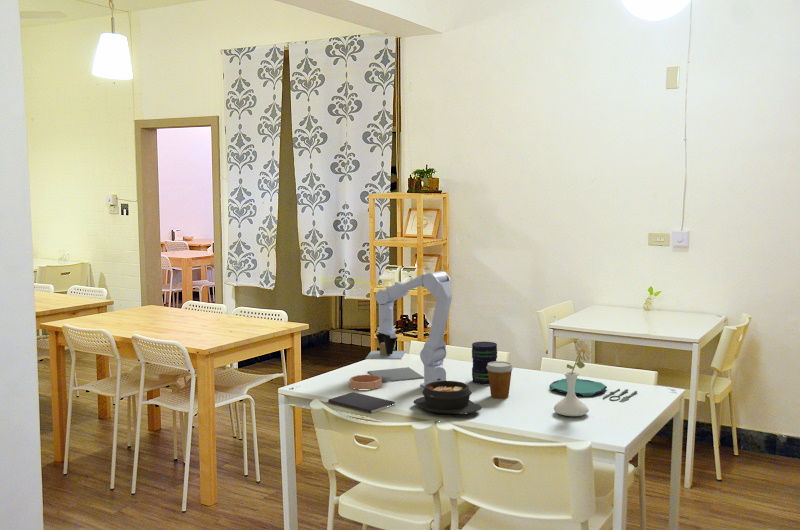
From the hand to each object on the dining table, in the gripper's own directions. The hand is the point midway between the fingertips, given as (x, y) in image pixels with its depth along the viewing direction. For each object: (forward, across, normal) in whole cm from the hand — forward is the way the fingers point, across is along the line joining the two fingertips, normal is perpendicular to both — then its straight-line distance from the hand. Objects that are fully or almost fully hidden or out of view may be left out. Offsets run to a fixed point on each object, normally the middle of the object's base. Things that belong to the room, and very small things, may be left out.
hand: (386, 352), depth 297 cm
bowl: (+10, -8, +12) cm, 18 cm away
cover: (+1, 0, 0) cm, 1 cm away
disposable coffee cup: (+11, -43, -26) cm, 51 cm away
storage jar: (+11, -22, -32) cm, 40 cm away
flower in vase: (+11, -72, -37) cm, 81 cm away
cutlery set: (+11, -52, -59) cm, 80 cm away
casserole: (+11, -49, -2) cm, 50 cm away
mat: (+10, +3, -5) cm, 12 cm away
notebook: (+11, -29, +22) cm, 38 cm away
